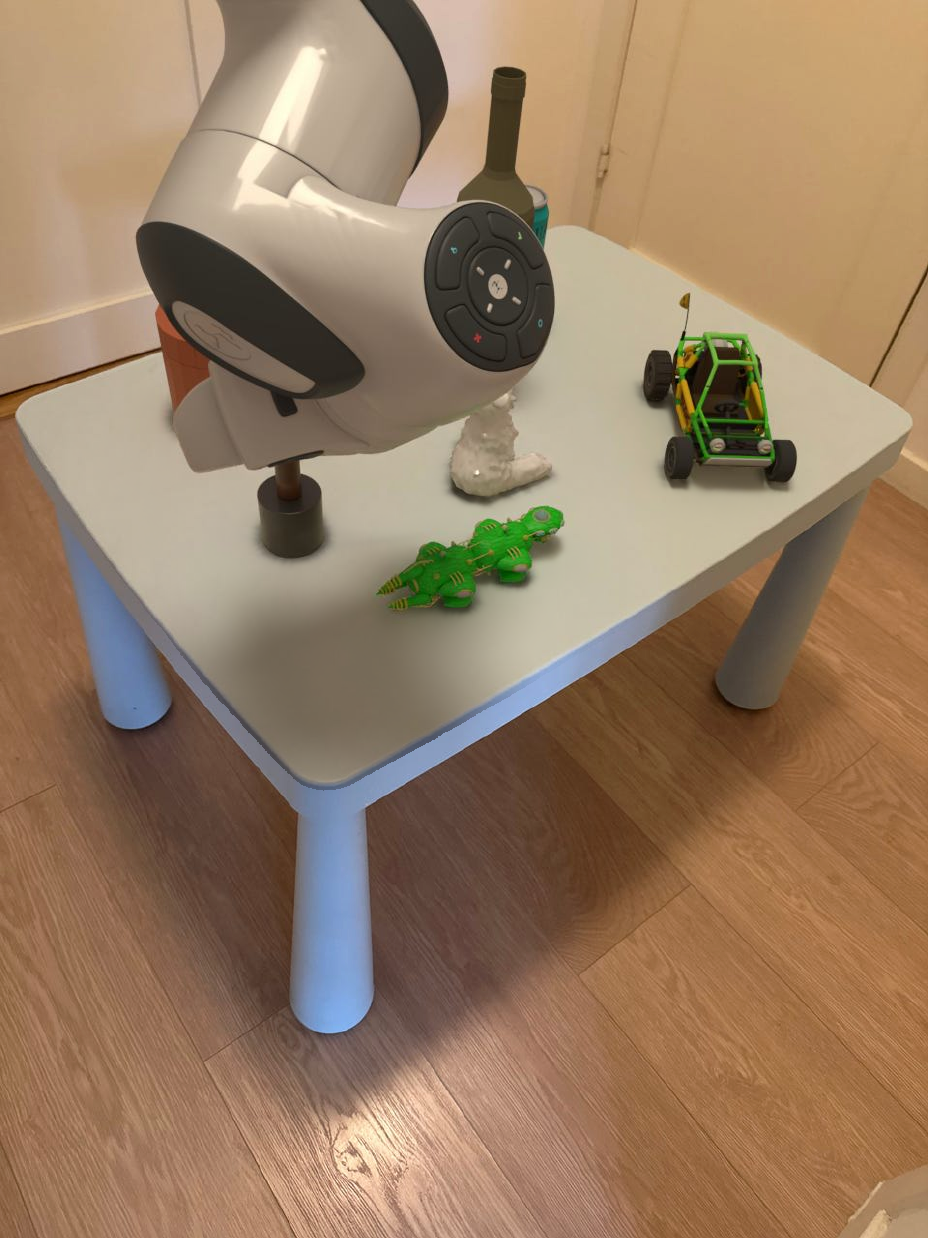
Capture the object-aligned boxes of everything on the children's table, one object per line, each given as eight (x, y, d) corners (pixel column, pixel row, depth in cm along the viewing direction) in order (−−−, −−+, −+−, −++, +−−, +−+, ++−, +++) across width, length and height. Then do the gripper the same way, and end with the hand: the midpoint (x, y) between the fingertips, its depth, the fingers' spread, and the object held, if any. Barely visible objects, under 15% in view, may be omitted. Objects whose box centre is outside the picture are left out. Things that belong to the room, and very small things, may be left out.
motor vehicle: (669, 489, 87) (699, 395, 79) (635, 370, 100) (658, 280, 92) (787, 492, 88) (828, 400, 81) (738, 374, 101) (769, 285, 93)
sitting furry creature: (553, 474, 88) (574, 365, 79) (505, 523, 83) (521, 413, 74) (470, 434, 91) (481, 325, 82) (419, 479, 86) (425, 368, 77)
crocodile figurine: (579, 560, 80) (588, 523, 77) (403, 641, 73) (404, 604, 69) (533, 514, 84) (540, 478, 80) (360, 588, 76) (360, 550, 73)
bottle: (434, 404, 93) (455, 79, 71) (451, 366, 98) (476, 50, 75) (502, 418, 93) (545, 95, 70) (516, 380, 97) (560, 64, 75)
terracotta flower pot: (180, 453, 85) (160, 349, 77) (170, 390, 92) (150, 287, 83) (289, 440, 88) (280, 337, 80) (271, 379, 94) (262, 278, 86)
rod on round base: (267, 562, 77) (236, 299, 59) (258, 520, 80) (225, 259, 62) (329, 552, 78) (317, 292, 60) (317, 511, 82) (302, 253, 64)
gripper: (503, 280, 57) (417, 340, 69) (181, 363, 49) (150, 413, 61) (535, 380, 58) (444, 421, 70) (225, 477, 50) (185, 504, 62)
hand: (305, 418), depth 66 cm, fingers open, 8 cm apart
